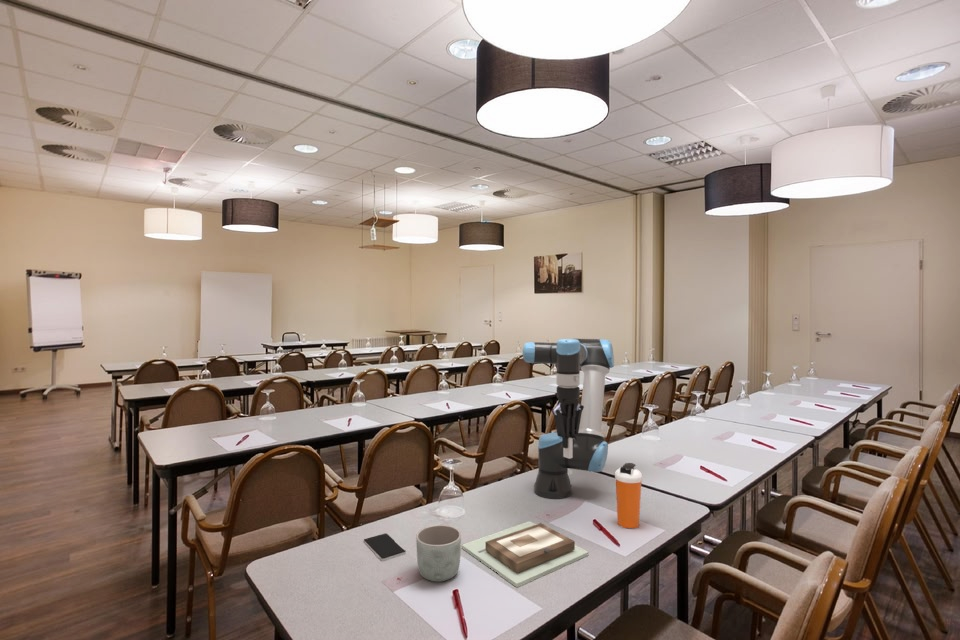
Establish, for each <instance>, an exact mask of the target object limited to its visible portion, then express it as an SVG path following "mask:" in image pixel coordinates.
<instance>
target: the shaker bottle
mask: <svg viewBox="0 0 960 640" xmlns="http://www.w3.org/2000/svg"><path fill="white" fill-rule="evenodd" d="M635 467H636V464H635V463H633V462H625V463H624V464H623V465H622V466H620V467H619V468H618V469H616V471H615V472H614V479H615V491H616V494H615V495H616V496H615V497H616V519H617V525H618V526H620V527H621V528H624V529H630V528H632V529H637V528H639V526H640V515H641V496H642V482H643V474H642V473H641V471H640V470H639V469H637V468H635Z"/></svg>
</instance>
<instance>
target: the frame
mask: <svg viewBox="0 0 960 640" xmlns="http://www.w3.org/2000/svg"><path fill="white" fill-rule="evenodd" d="M575 542H576V541H574V540H573V539H571V538H569V537H568V536H565V535H564V534H562V533H560V532H559V531H557V530H555V529H552V528H551V527H549V526H547V525H545V524H544V523H542V522H540V523H537V524H536V525H534V526H531V527H528V528H525V529H522V530H519V531H516V532H513V533H510V534H507V535H504V536H501V537H498V538H495V539H492V540H490V541H487V542H486V551H487V552H489V553H490V554H492V555H493V556H494V557H496V558H497V559H499V560H500V561H502V562H503V563H504V564H506V565H507V566H509V567H510V568H511V569H513V570H514V571H516V572H517V573H518V572H520V571H523V570H525V569H528V568H530V567H533V566H535V565H538V564H540V563H543V562H545V561H548V560H550V559H553V558H555V557H558V556H560V555H563V554H565V553H568V552H570V551H572V550H575V545H576V543H575Z"/></svg>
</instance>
